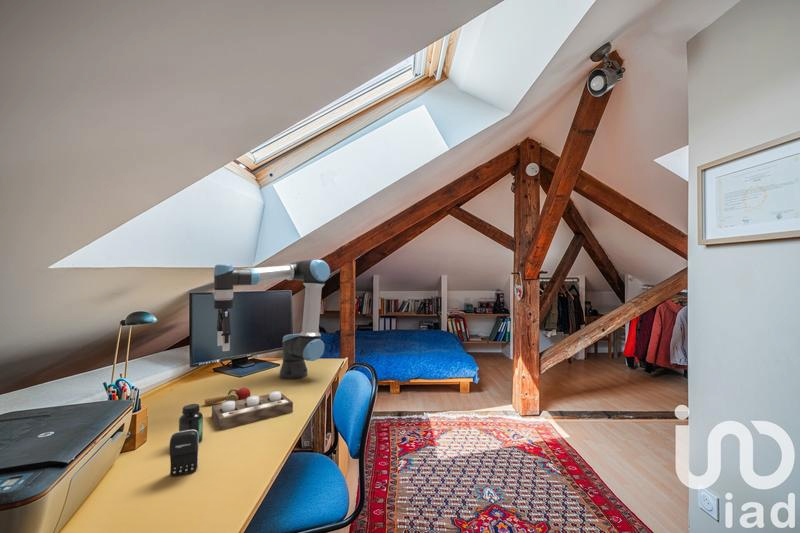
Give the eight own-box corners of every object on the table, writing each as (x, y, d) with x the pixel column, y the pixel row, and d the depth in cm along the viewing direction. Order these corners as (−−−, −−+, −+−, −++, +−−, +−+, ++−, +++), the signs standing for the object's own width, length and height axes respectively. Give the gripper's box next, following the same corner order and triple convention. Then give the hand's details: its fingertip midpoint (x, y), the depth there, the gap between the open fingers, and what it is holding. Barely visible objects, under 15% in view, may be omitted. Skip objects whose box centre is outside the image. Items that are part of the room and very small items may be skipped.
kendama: (204, 412, 145) (250, 400, 152) (202, 397, 146) (248, 386, 153) (207, 409, 152) (251, 398, 159) (206, 394, 153) (249, 384, 160)
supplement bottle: (206, 440, 117) (206, 405, 118) (185, 449, 112) (185, 411, 112) (196, 435, 121) (196, 401, 121) (174, 443, 115) (175, 407, 116)
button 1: (233, 411, 138) (233, 399, 138) (236, 414, 134) (236, 403, 134) (220, 414, 135) (220, 402, 135) (223, 418, 131) (223, 406, 131)
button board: (279, 400, 155) (279, 391, 155) (292, 411, 142) (292, 401, 142) (211, 416, 138) (211, 405, 138) (219, 430, 125) (219, 418, 125)
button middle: (257, 406, 143) (257, 395, 143) (260, 409, 140) (260, 398, 140) (245, 408, 140) (245, 397, 141) (248, 412, 137) (248, 400, 137)
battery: (167, 479, 95) (168, 437, 95) (170, 472, 98) (170, 432, 99) (197, 473, 98) (197, 432, 98) (198, 466, 101) (199, 427, 102)
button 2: (279, 401, 149) (279, 390, 149) (282, 404, 145) (282, 393, 145) (268, 403, 146) (268, 392, 146) (271, 406, 142) (271, 395, 142)
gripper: (210, 298, 160) (209, 344, 159) (218, 301, 139) (218, 354, 139) (228, 297, 164) (227, 342, 164) (238, 300, 144) (238, 352, 143)
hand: (223, 348), depth 151 cm, fingers open, 13 cm apart
